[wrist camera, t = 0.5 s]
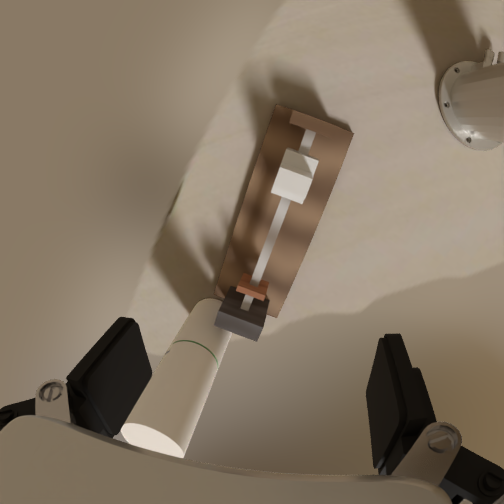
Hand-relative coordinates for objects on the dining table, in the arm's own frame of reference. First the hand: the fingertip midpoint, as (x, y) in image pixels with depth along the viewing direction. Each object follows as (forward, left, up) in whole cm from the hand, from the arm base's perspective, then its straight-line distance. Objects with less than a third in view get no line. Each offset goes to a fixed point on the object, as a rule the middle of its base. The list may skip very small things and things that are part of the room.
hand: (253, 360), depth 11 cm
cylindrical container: (+23, -5, -31) cm, 39 cm away
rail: (+4, -1, -31) cm, 31 cm away
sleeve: (-3, -1, -28) cm, 28 cm away
